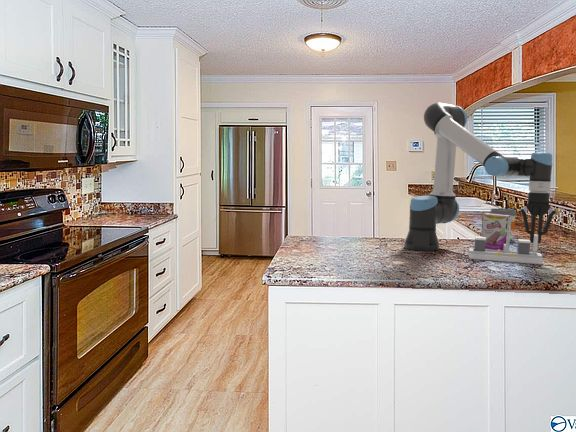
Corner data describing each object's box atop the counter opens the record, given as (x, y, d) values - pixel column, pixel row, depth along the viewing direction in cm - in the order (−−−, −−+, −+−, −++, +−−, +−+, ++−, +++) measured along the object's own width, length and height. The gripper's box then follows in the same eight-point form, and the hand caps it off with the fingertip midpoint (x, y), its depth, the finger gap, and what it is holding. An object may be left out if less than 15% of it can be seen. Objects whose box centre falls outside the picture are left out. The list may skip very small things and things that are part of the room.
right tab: (518, 255, 201) (519, 240, 201) (516, 253, 205) (518, 239, 204) (529, 256, 200) (530, 241, 199) (528, 254, 204) (529, 239, 203)
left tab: (474, 252, 206) (475, 237, 206) (474, 250, 210) (474, 236, 210) (485, 253, 205) (485, 238, 204) (484, 251, 209) (485, 237, 208)
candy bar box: (479, 250, 226) (482, 213, 224) (484, 248, 229) (486, 213, 227) (505, 253, 218) (507, 216, 216) (509, 252, 222) (512, 215, 220)
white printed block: (491, 239, 258) (493, 210, 257) (486, 235, 271) (488, 208, 269) (517, 240, 256) (519, 211, 255) (510, 236, 269) (512, 208, 267)
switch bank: (469, 258, 205) (469, 244, 204) (468, 254, 214) (469, 240, 213) (542, 264, 196) (543, 249, 195) (538, 259, 205) (540, 245, 205)
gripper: (522, 191, 197) (517, 251, 200) (559, 193, 193) (554, 253, 195) (519, 190, 204) (515, 248, 207) (555, 192, 200) (551, 250, 203)
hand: (534, 250), depth 201 cm, fingers closed
